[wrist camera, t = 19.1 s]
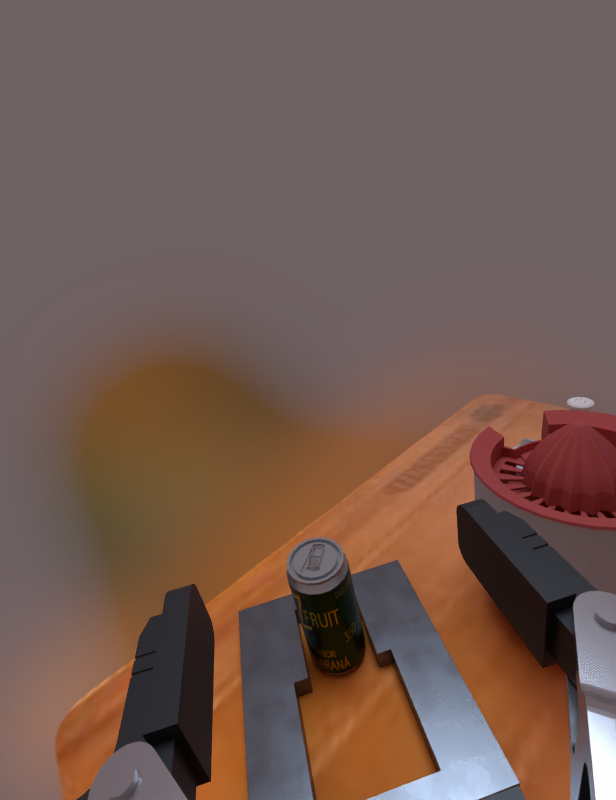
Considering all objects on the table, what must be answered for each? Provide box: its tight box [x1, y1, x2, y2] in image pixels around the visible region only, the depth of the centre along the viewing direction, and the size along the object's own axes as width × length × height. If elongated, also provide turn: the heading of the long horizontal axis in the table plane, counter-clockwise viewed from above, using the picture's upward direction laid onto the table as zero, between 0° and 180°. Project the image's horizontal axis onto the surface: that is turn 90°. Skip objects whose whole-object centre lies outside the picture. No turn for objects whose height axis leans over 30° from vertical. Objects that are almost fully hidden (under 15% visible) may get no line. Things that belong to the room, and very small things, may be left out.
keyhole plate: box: [239, 560, 520, 800], centre depth 35 cm, size 20×18×2 cm
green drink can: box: [287, 537, 365, 675], centre depth 36 cm, size 5×5×12 cm
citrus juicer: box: [470, 410, 616, 595], centre depth 35 cm, size 16×17×20 cm
